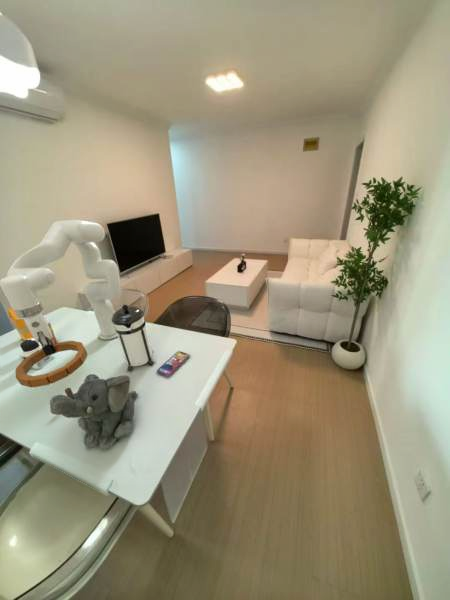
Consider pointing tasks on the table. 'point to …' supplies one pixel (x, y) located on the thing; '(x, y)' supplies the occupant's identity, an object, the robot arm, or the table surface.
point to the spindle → (70, 393)
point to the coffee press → (132, 336)
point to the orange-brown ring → (54, 375)
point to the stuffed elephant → (100, 409)
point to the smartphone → (173, 363)
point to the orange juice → (20, 326)
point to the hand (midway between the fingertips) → (50, 351)
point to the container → (30, 348)
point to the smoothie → (51, 332)
